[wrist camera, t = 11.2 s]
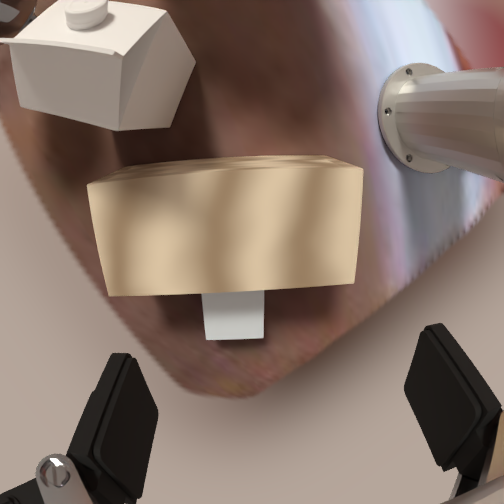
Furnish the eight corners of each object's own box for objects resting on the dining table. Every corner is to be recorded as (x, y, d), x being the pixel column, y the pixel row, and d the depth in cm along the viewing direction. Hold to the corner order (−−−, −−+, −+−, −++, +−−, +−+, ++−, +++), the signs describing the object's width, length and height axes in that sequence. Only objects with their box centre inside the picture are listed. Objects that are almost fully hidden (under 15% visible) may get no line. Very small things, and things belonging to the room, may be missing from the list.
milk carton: (170, 128, 28) (85, 135, 11) (107, 110, 27) (-23, 109, 9) (196, 61, 26) (150, -21, 8) (131, 45, 24) (27, -24, 7)
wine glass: (88, 49, 24) (3, 15, 10) (30, 74, 24) (-64, 66, 10) (87, -9, 21) (16, -62, 7) (30, 17, 21) (-52, -11, 7)
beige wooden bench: (325, 155, 30) (363, 169, 21) (322, 240, 34) (354, 283, 25) (126, 166, 29) (86, 184, 20) (138, 250, 33) (109, 296, 24)
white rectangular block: (259, 174, 31) (265, 183, 26) (259, 312, 37) (263, 338, 32) (199, 176, 31) (193, 185, 26) (208, 313, 37) (206, 339, 32)
